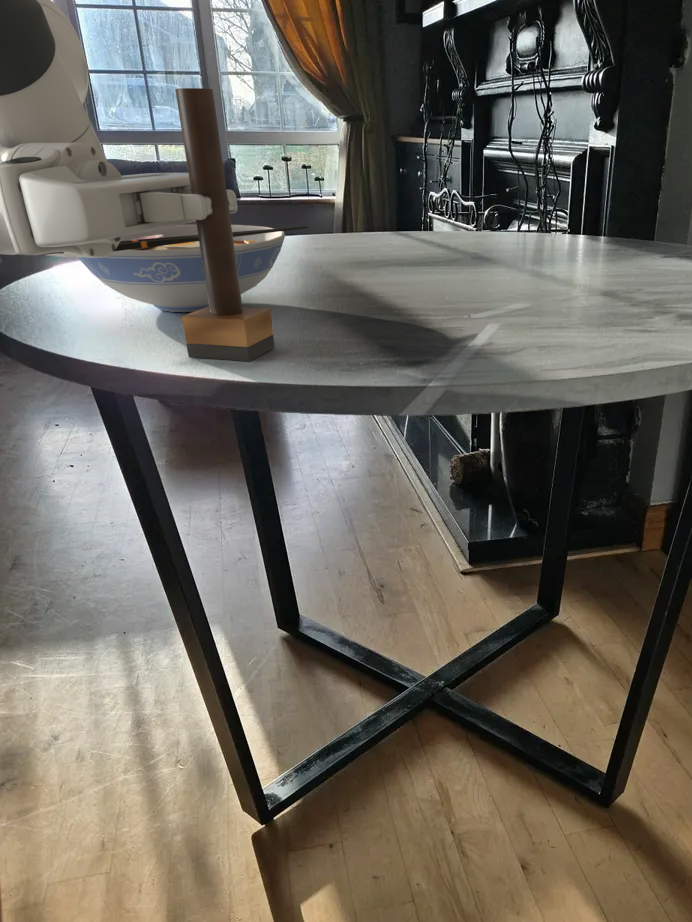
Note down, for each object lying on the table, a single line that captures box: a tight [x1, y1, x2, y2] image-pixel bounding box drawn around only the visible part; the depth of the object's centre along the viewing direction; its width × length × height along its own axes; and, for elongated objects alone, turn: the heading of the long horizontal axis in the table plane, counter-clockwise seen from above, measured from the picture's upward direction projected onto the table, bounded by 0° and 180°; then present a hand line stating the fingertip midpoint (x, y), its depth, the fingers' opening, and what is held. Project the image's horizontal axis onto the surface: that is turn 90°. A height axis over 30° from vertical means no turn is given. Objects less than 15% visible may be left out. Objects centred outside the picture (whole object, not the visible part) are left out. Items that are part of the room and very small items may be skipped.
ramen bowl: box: [77, 224, 309, 313], centre depth 86 cm, size 25×23×8 cm
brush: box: [174, 87, 276, 362], centre depth 65 cm, size 6×5×20 cm
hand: (220, 204), depth 64 cm, fingers closed on brush, 3 cm apart
